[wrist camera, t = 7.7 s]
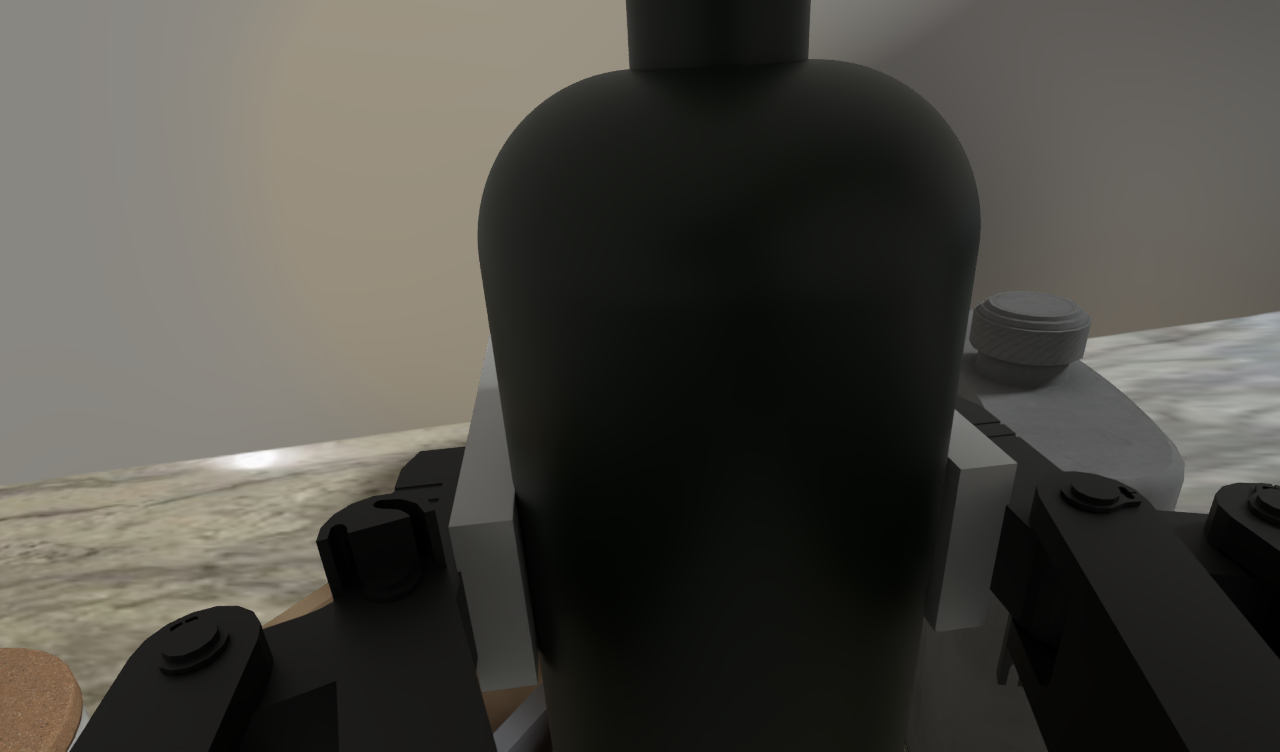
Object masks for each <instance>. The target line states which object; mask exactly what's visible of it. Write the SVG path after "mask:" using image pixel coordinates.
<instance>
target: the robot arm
mask: <svg viewBox="0 0 1280 752" xmlns="http://www.w3.org/2000/svg"><path fill="white" fill-rule="evenodd" d="M316 543H317V546H318V550H319V553H320V557H321V560H322V563H323V567H324V570H325V573H326V577H327V580H328V583H329V587H330V590H331V593H332V597H333V602H331V603H329V604H328V605H326V606H324V607H322V608H320V609H318V610H315V611H313V612H311V613H308V614H306V615H303V616H300V617H297V618H294V619H291V620H288V621H285V622H282V623H279V624H276V625H273V626H270V627H267V628H264V629H262V626H261V623H260V621H259V620H258V618H257V617H256V615H255V613H254V612H253V611H251V610H248V609H245V608H243V607H240V606H216V607H212V608H208V609H204V610H201V611H197V612H193V613H190V614H188V615H186V616H183V617H182V618H179V619H177V620H175V621H173V622H171V623H169V624H167V625H166V626H164V627H163V628H161V629H160V630H159V631H157V632H156V633H154V634H153V635H152V636H150V637H149V638H147V639H146V640H145V641H144V642H143V643H142V644H141V645H140V647H139V648H138V649H137V650H136V651H135V652H134V653H133V654H132V656H131V657H130V658H129V659H128V661H127V662H126V664H125V665H124V667H123V669H122V670H121V672H120V673H119V675H118V676H117V678H116V679H115V681H114V683H113V684H112V686H111V687H110V689H109V690H108V692H107V693H106V695H105V697H104V698H103V700H102V701H101V703H100V704H99V706H98V708H97V709H96V711H95V712H94V714H93V715H92V717H91V718H90V720H89V722H88V723H87V725H86V726H85V728H84V729H83V731H82V732H81V734H80V736H79V737H78V739H77V740H76V742H75V743H74V745H73V747H72V748H71V750H70V751H69V752H498V751H497V747H496V744H495V740H494V736H493V733H492V729H491V725H490V722H489V718H488V714H487V711H486V707H485V703H484V700H483V696H482V693H481V691H482V692H487V691H494V690H502V689H509V688H517V687H524V686H532V685H538V641H537V634H536V628H535V621H534V614H533V608H532V601H531V594H530V587H529V581H528V574H527V567H526V561H525V554H524V547H523V541H522V534H521V527H520V521H519V514H518V507H517V501H516V494H515V488H514V485H513V480H512V474H511V467H510V461H509V454H508V447H507V441H506V434H505V427H504V421H503V414H502V407H501V401H500V394H499V387H498V381H497V374H496V367H495V361H494V354H493V347H492V341H491V334H490V336H489V341H488V346H487V350H486V355H485V359H484V364H483V369H482V373H481V378H480V383H479V387H478V392H477V397H476V401H475V406H474V411H473V415H472V420H471V424H470V429H469V434H468V438H467V443H466V447H457V448H447V449H438V450H428V451H420V452H419V453H418V454H417V455H416V456H415V457H414V458H413V459H412V460H410V461H409V462H408V463H407V464H406V465H405V466H404V467H403V468H402V469H401V472H400V475H399V477H398V480H397V483H396V486H395V492H393V493H392V494H385V495H379V496H373V497H370V498H367V499H364V500H361V501H359V502H356V503H353V504H351V505H349V506H347V507H346V508H344V509H342V510H341V511H339V512H337V513H336V514H334V515H333V516H332V517H331V518H330V519H329V520H328V521H327V522H326V523H325V524H324V525H323V526H322V527H321V528H320V531H319V534H318V537H317V540H316ZM992 593H993V594H994V595H995V596H996V597H997V599H998V600H999V601H1000V602H1001V603H1002V605H1003V606H1004V607H1005V608H1006V609H1007V611H1008V612H1009V615H1008V620H1007V624H1006V629H1005V634H1004V638H1003V643H1002V648H1001V652H1000V657H999V661H998V666H997V671H996V674H997V684H998V685H1006V683H1007V678H1008V674H1009V669H1010V667H1011V666H1012V665H1013V664H1014V665H1015V668H1016V671H1017V673H1018V676H1019V680H1018V686H1019V687H1023V689H1024V691H1025V694H1026V696H1027V699H1028V701H1029V704H1030V707H1031V709H1032V712H1033V714H1034V717H1035V719H1036V722H1037V725H1038V727H1039V730H1040V732H1041V735H1042V737H1043V740H1044V743H1045V745H1046V748H1047V750H1048V752H1280V486H1278V485H1275V486H1272V484H1265V483H1235V484H1231V485H1226V486H1222V487H1221V489H1220V490H1219V491H1218V492H1217V493H1216V494H1215V497H1214V500H1213V503H1212V506H1211V509H1210V512H1209V514H1198V513H1186V512H1174V511H1162V510H1156V509H1155V508H1154V507H1153V505H1152V504H1151V503H1150V502H1149V501H1148V500H1147V499H1146V498H1145V497H1144V496H1142V495H1141V494H1140V493H1139V492H1138V491H1137V490H1135V489H1133V488H1131V487H1129V486H1127V485H1125V484H1123V483H1121V482H1119V481H1117V480H1114V479H1111V478H1107V477H1104V476H1101V475H1097V474H1093V473H1085V472H1078V471H1066V472H1063V471H1062V470H1061V469H1060V468H1058V467H1057V466H1056V465H1055V464H1053V463H1052V462H1051V461H1050V460H1048V459H1047V458H1046V457H1045V456H1043V455H1042V454H1041V453H1040V452H1038V451H1037V450H1036V449H1035V448H1033V447H1032V446H1031V445H1030V444H1028V443H1027V442H1026V441H1025V440H1023V439H1022V438H1021V437H1016V433H1015V432H1013V431H1012V430H1011V429H1010V428H1008V427H1007V426H1006V425H1005V424H1001V423H1000V420H998V419H997V418H996V417H995V416H994V415H992V414H991V413H990V412H989V411H987V410H986V409H985V408H984V407H982V406H980V405H978V404H976V403H974V402H971V401H969V400H967V399H964V398H962V397H960V396H957V397H956V404H955V411H954V418H953V424H952V431H951V438H950V444H949V451H948V458H947V464H946V471H945V478H944V484H943V491H942V498H941V505H940V511H939V518H938V525H937V531H936V538H935V545H934V551H933V558H932V565H931V571H930V578H929V585H928V591H927V598H926V605H925V612H924V617H925V618H926V620H927V621H928V623H929V624H930V626H931V627H932V628H933V630H934V631H935V632H940V631H947V630H955V629H963V628H970V627H978V626H985V624H986V619H987V614H988V609H989V604H990V599H991V594H992ZM476 669H477V672H478V677H479V681H480V685H479V682H478V678H477V674H476ZM480 686H481V689H480Z"/></svg>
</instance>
